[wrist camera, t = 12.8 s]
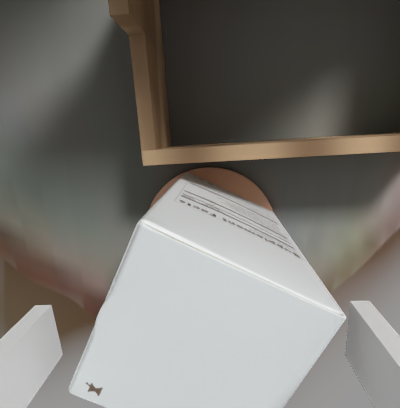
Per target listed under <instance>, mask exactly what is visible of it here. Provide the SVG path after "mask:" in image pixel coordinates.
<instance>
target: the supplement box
mask: <svg viewBox="0 0 400 408" xmlns="http://www.w3.org/2000/svg"><path fill="white" fill-rule="evenodd" d="M345 319H346V316H345V314H344V313H343V311H342V310H341V309H340V307H339V306H338V304H337V303H336V301H335V300H334V299H333V297H332V296H331V294H330V293H329V291H328V290H327V288H326V287H325V285H324V284H323V283H322V281H321V280H320V278H319V277H318V276H317V274H316V273H315V271H314V270H313V268H312V267H311V266H310V264H309V263H308V261H307V260H306V259H305V257H304V256H303V254H302V253H301V251H300V250H299V248H298V247H297V246H296V244H295V243H294V241H293V240H292V238H291V237H290V236H289V234H288V233H287V231H286V230H285V228H284V227H283V226H282V224H281V223H280V221H279V220H278V218H277V217H276V216H275V214H274V213H273V212H272V211H271V210H269V209H267V208H264V207H262V206H260V205H258V204H256V203H254V202H251V201H249V200H247V199H245V198H243V197H241V196H238V195H236V194H234V193H232V192H230V191H227V190H225V189H223V188H221V187H219V186H217V185H214V184H212V183H210V182H208V181H206V180H204V179H201V178H199V177H197V176H195V175H193V174H190V173H188V172H186V173H184V174H183V175H182V176H181V177H180V179H179V180H178V181H177V182H176V183H175V184H174V185H173V186H172V187H171V188H170V189H169V190H168V191H167V192H166V193H165V194H164V195H163V196H162V197H161V198H160V199H159V200H158V201H157V202H156V203H155V204H154V205H153V206H152V207H151V208H150V209H149V210H148V212H147V213H146V214H145V215H144V216H143V217H142V218H141V219H140V220H139V222H138V223H137V225H136V227H135V229H134V232H133V234H132V236H131V239H130V241H129V244H128V246H127V249H126V251H125V253H124V256H123V258H122V261H121V263H120V265H119V268H118V270H117V273H116V275H115V277H114V280H113V282H112V285H111V287H110V289H109V292H108V294H107V297H106V299H105V301H104V304H103V306H102V307H101V309H100V311H99V314H98V316H97V319H96V322H95V326H94V328H93V330H92V333H91V335H90V338H89V340H88V342H87V345H86V347H85V350H84V352H83V355H82V357H81V359H80V362H79V364H78V366H77V369H76V371H75V374H74V376H73V379H72V381H71V383H70V386H69V392H70V393H72V394H74V395H76V396H78V397H81V398H83V399H86V400H89V401H91V402H94V403H96V404H99V405H101V406H104V407H106V408H283V407H284V406H285V405H286V403H287V402H288V400H289V399H290V397H291V396H292V395H293V393H294V392H295V390H296V389H297V387H298V386H299V385H300V383H301V382H302V380H303V379H304V377H305V376H306V374H307V373H308V372H309V370H310V369H311V367H312V366H313V364H314V363H315V362H316V360H317V359H318V357H319V356H320V355H321V353H322V352H323V350H324V349H325V347H326V346H327V345H328V343H329V342H330V340H331V339H332V337H333V336H334V335H335V333H336V332H337V330H338V329H339V328H340V326H341V325H342V323H343V322H344V321H345Z"/></svg>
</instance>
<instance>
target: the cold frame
mask: <svg viewBox="0 0 400 408" xmlns="http://www.w3.org/2000/svg"><path fill="white" fill-rule="evenodd" d="M108 4H109V12H110V16H111V17H112V18H113V19H114V20H115V21H116V22H117V24H118V25H119V26H120V27H121V28H122V29H123V30H124V31H125V32H126V33H127V34H128V35H129V42H130V52H131V61H132V70H133V79H134V88H135V97H136V106H137V115H138V124H139V133H140V142H141V151H142V160H143V166H146V165H164V164H182V163H200V162H218V161H236V160H254V159H272V158H290V157H308V156H326V155H345V154H363V153H381V152H399V151H400V132H396V133H380V134H364V135H347V136H331V137H314V138H298V139H282V140H265V141H249V142H232V143H216V144H200V145H183V146H171V136H170V124H169V113H168V101H167V89H166V77H165V65H164V54H163V42H162V30H161V18H160V6H159V0H108Z"/></svg>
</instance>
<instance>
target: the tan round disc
mask: <svg viewBox="0 0 400 408" xmlns="http://www.w3.org/2000/svg"><path fill="white" fill-rule="evenodd" d="M187 172H188V173H190V174H193V175H195V176H197V177H199V178H201V179H204V180H206V181H208V182H210V183H212V184H214V185H217V186H219V187H221V188H223V189H225V190H227V191H230V192H232V193H234V194H236V195H238V196H241V197H243V198H245V199H247V200H249V201H251V202H254V203H256V204H258V205H260V206H262V207H264V208H267V209H269V210H271V211H272V212H273V210H272V207H271V205H270V203H269V201H268V199H267V198H266V197H265V195H264V194H263V192H262V191H261V190H260V189H259V188H258V187H257V186H256V185H255V184H254V183H253V182H252V181H250V180H249V179H248V178H246V177H244V176H243V175H241V174H239V173H236V172H234V171H231V170H228V169H224V168H217V167H203V168H197V169H193V170H189V171H187ZM184 173H186V172H184ZM184 173H182V174H180V175H178V176H176V177H175V178H173V179H172V180H170V181H169V182H168V183H167V184H166V185H165V186H164V187H163V188H162V189H161V190H160V191H159V192H158V194H157V195H156V196H155V198H154V200H153V201H152V203H151V206H150V208H151V207H152V206H153V205H154V204H155V203H156V202H157V201H158V200H159V199H160V198H161V197H162V196H163V195H164V194H165V193H166V192H167V191H168V190H169V189H170V188H171V187H172V186H173V185H174V184H175V183H176V182H177V181H178V180H179V179H180V177H181V176H182V175H183V174H184ZM150 208H149V209H150Z"/></svg>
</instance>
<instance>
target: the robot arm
mask: <svg viewBox="0 0 400 408" xmlns="http://www.w3.org/2000/svg"><path fill="white" fill-rule="evenodd" d="M62 355H63V353H62V349H61V345H60V341H59V336H58V332H57V328H56V323H55V319H54V315H53V310H52V306H51V305H35V306H34V307H33V308H32V309H31V310H30V311H29V312H28V313H27V314H26V315H25V316H24V317H23V318H22V319H21V320H20V321H19V322H18V323H17V324H16V325H15V326H14V327H12V328H11V329H10V330H9V331H8V332H7V333H6V334H5V335H4V336H3V337H2V338H1V339H0V408H26V407H27V406H28V405H29V403H30V401H31V400H32V399H33V397H34V396H35V394H36V393H37V391H38V390H39V388H40V387H41V386H42V384H43V383H44V381H45V380H46V378H47V377H48V376H49V374H50V373H51V371H52V370H53V368H54V367H55V365H56V364H57V363H58V361H59V359H60V358H61V357H62ZM345 355H346V357H347V359H348V361H349V363H350V365H351V366H352V368H353V370H354V372H355V374H356V376H357V377H358V379H359V381H360V383H361V385H362V387H363V388H364V390H365V392H366V394H367V395H368V397H369V399H370V401H371V403H372V405H373V407H374V408H400V336H399V335H398V334H397V332H396V331H395V330H394V329H393V328H392V327H391V326H390V324H389V323H388V322H387V321H386V320H385V318H384V317H383V316H382V315H381V314H380V313H379V312H378V310H377V309H376V308H375V307H374V306H373V305H372V303H371V302H370V301H350V308H349V320H348V331H347V342H346V354H345Z"/></svg>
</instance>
